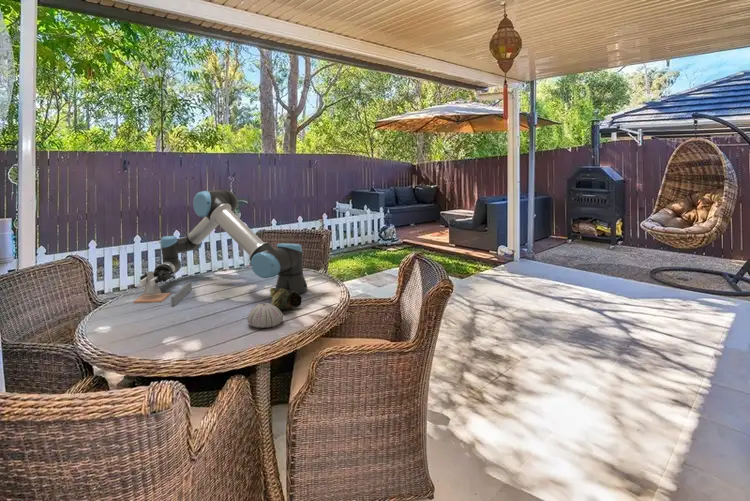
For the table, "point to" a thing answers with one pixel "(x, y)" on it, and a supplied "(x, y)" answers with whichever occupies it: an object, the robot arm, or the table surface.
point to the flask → (148, 288)
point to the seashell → (285, 299)
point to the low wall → (181, 294)
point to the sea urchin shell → (265, 316)
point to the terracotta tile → (152, 298)
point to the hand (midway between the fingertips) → (146, 283)
